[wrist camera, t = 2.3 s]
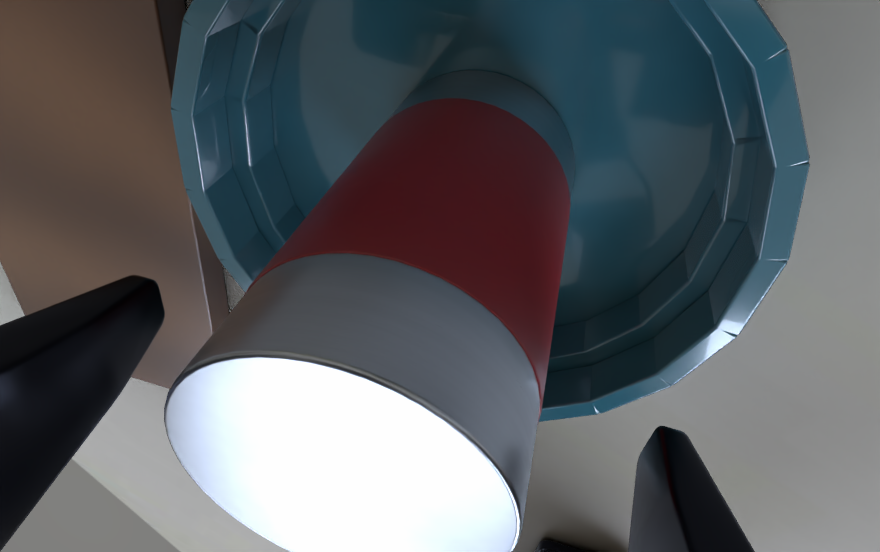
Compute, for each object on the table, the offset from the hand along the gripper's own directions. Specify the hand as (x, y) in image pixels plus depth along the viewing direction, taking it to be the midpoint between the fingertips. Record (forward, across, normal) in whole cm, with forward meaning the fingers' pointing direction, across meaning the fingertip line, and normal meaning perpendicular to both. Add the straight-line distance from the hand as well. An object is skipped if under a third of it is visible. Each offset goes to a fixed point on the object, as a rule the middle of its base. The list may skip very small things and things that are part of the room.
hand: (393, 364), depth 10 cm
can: (+8, 0, 0) cm, 8 cm away
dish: (+8, 0, 0) cm, 8 cm away
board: (+8, +13, +5) cm, 16 cm away
